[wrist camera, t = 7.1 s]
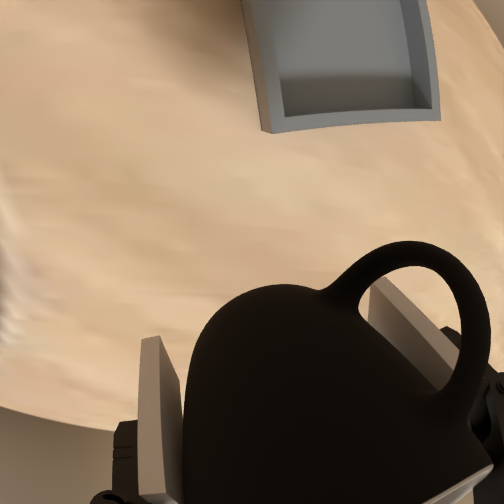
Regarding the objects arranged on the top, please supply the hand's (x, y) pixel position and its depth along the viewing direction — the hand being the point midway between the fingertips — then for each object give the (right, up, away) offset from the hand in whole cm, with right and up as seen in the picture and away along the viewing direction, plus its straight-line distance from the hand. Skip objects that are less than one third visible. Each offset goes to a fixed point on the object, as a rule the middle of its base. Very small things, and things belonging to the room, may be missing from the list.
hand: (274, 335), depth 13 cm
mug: (+1, +1, +1) cm, 1 cm away
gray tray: (+6, +22, +7) cm, 23 cm away
